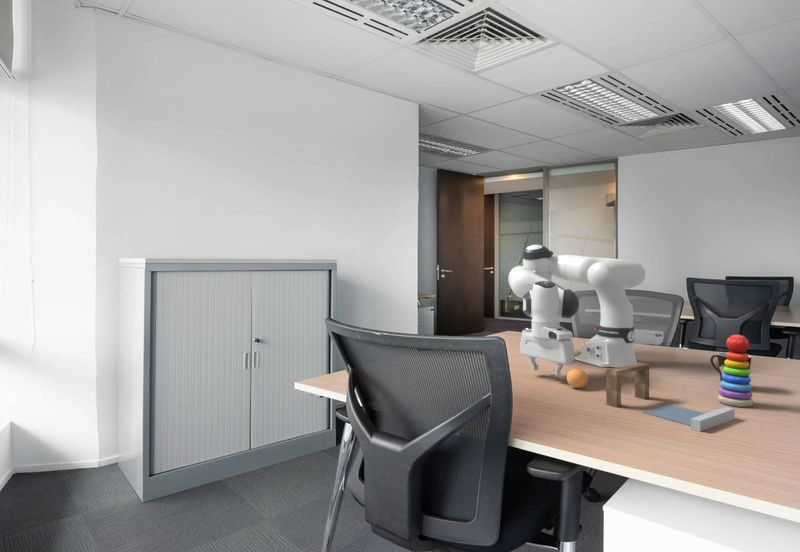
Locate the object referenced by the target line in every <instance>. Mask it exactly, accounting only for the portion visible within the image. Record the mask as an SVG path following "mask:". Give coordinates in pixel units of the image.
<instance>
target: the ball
mask: <svg viewBox="0 0 800 552" xmlns="http://www.w3.org/2000/svg"><path fill="white" fill-rule="evenodd" d="M588 379H589V378H588V374H587V373H586V371H585V370H583V369H581V368H578V367H577V368H576V367H575V368H572V369H570V370H569V371H568V372H567V374H566V380H567V383H568V385H569V386H570V387H572V388H573V389H581V388H584V387H585V386H586V385H587V383H588Z"/></svg>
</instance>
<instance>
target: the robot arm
mask: <svg viewBox="0 0 800 552" xmlns="http://www.w3.org/2000/svg"><path fill="white" fill-rule="evenodd" d="M553 255H554V252H553V251H551V250H550V249H549V248H548V247H546V246H544V245H543V244H531V245H528V246H526V247H525V248H523V251H522V260H523V261H522V265H517V266H514V267H513V268H512V269H511V270H510V271H509V273H508V275H507V276H508V277H507V279H508V285H509V287H510V289H511V290H512V292H513V294H514V295H515V296H516V297H519V298H521V299H522V312H523V313H524V314H525V315H526V316H527V317H529V318H531V328H529V327H525V328H524V329H523V330H522V331H521V338H520V343H519V344H520V345H519V352H520V354H521V355H523V356H526V357H528V361H529V363H530V365H531V367H530V369H531V370H532V371H538V370H539V364H537V361H536V359H541V360H545V361H548V362H549V361H550V362H555V366H556V368H555V369H553V370H552V372H553V376H555V377H559V376H561V371H562V369H563V367H564V365H569V364H572V363H573V361H574V360H575V361H576V360H577V361H580V362H583V363H586V364H590V365H594V366H598V367H601V368H602V367H603V368H604V367H605V368H608V367H609V368H615V367H620V366H624V365H629V364H634V363H638V361H637V358H636V357H637V356H636V352H635V346H634V340H635V327H634V307H633V304H632V303H631V302H630V301H629V300H628V298H627V294H626V290H627V289H633V288H635V287H638V286H640V285H641V284H642V283H643V282H644V281H645V279H646V271H645V268H644V266H643V265H642V264H641V263H639V262H638V261H634V260H630V259H624V258H623V259H621V258H612V257H611V258H610V257H598V256H597V257H596V256H587V255H586V256H585V255H579V254H558V255H555V256H553ZM552 276H554V277H556V278H558V279H560V280H563V281H567V282H571V283H575V284H576V283H577V284H583V285H588V286H591V287H592V288H593V289H594V291H595V292H596V294H597V298H598V301H599V305H600V306H599V307H600V309H599V311H600V325H598V326H595V327H594V329H593V330H594V331H596V334H595V335H594V336H592V337H591V338H590V339H588V340H587V341H586V342H584V343H583V344H582V346H581V350H580V354H578V355H576V356H575V346H574V342H573V341H572V339H573V337H574V334H573V332H572V331H571V330H568V329H567V328H565V327H563V326H562V325H560V318H561V319H571V318H572V317H574V316H575V315H576V314H577V313H578V311H579V306H580V304H579V303H580V302H579V301H580V300H579V298H578V296H577V294H576V293H575V292H574V291H573V290H572V289H565V288H564V287H562V286H560V285H558V284H557V283H555V282H554V281H552Z"/></svg>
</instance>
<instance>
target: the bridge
mask: <svg viewBox="0 0 800 552" xmlns="http://www.w3.org/2000/svg"><path fill="white" fill-rule="evenodd" d="M605 373H606V383H605V384H606V390H605V391H606V394H605V395H606V397H605V398H606V405H608V406H610V407H614V408H618V407H619V408H620V407H622V375H626V374H630V373H634V397H635V398H638V399H641V400H648V399H650V364H649V363H645V362H637V363H634V364H629V365H624V366H620V367H609V368H606V372H605Z"/></svg>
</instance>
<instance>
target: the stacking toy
mask: <svg viewBox="0 0 800 552" xmlns="http://www.w3.org/2000/svg"><path fill="white" fill-rule="evenodd" d="M725 345H726V347H727V349H728V350H729V351H728V352H727V353H726V357H727V358H728V359H726V360H725V361H724V364H725V365H726V366H725V367H724V369H723V371H724V372H725V373H724V374H723V375H722V379H723V380H722V381H720V387H719V388H718V393H719V394H718V395H717V400H718V401H719V402H720V403H722V404H724V405H727V406H732V407H737V408H745V407H746V408H749V407H752V406H753V405H754V399H753V398H752V397H753V392H752V389H753V386H752V384H751V381H752V379H751V377H750V374H751V370H749V369H748V367H749V363H748V362H747V360H748V358H749V356H748V355H749V354H748V353H746V352H747V351H748V350H749V347H750V341H749V340H748V339H747V337H746V336H744V335H742V334H732V335H730V336H729V337H728V338H727V339H726V344H725Z"/></svg>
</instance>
